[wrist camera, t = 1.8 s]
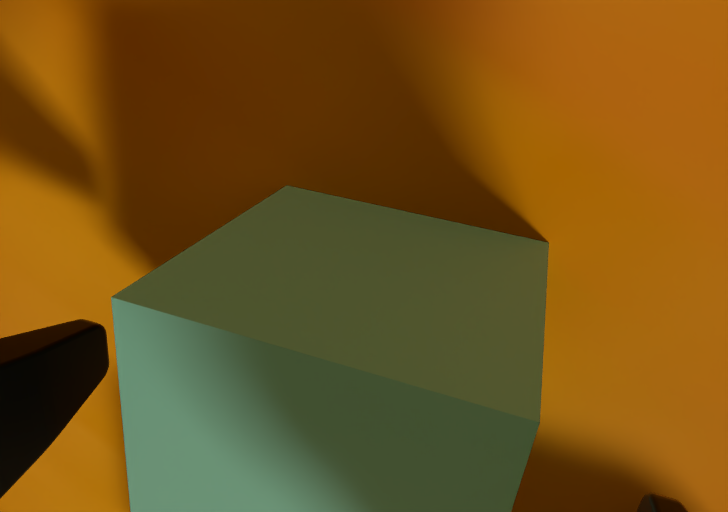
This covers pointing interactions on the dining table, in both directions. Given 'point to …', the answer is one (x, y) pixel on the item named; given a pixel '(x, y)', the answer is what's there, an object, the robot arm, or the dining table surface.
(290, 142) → the dining table surface
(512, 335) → the teal block
